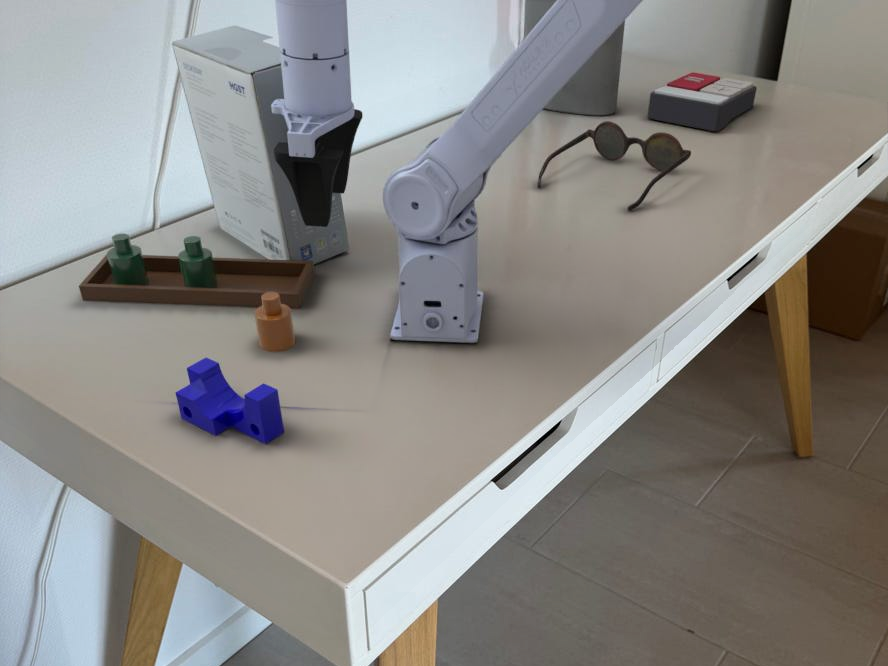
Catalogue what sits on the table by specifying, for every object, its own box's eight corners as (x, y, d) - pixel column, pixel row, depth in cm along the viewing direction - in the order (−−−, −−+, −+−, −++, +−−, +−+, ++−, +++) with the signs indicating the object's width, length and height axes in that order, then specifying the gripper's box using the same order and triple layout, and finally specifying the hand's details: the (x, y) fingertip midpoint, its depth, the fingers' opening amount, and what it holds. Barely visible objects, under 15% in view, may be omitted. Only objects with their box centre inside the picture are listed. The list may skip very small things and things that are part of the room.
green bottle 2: (212, 295, 89) (203, 247, 86) (180, 293, 89) (170, 245, 86) (222, 280, 91) (213, 232, 88) (190, 279, 91) (180, 231, 88)
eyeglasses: (687, 175, 116) (693, 135, 113) (636, 213, 106) (641, 171, 103) (586, 153, 122) (589, 114, 119) (529, 187, 112) (531, 146, 109)
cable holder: (181, 418, 73) (171, 376, 71) (214, 398, 75) (206, 357, 73) (251, 453, 70) (243, 410, 67) (284, 432, 72) (277, 389, 69)
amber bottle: (291, 355, 81) (284, 305, 78) (255, 354, 81) (247, 303, 78) (299, 337, 83) (292, 288, 80) (264, 336, 83) (256, 286, 80)
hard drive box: (353, 251, 96) (321, 52, 83) (292, 277, 93) (249, 73, 79) (274, 207, 105) (235, 21, 92) (216, 230, 102) (166, 39, 88)
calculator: (759, 81, 136) (722, 100, 126) (752, 111, 139) (716, 132, 128) (690, 69, 141) (650, 87, 131) (685, 98, 143) (645, 118, 133)
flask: (514, 105, 138) (518, -45, 125) (528, 95, 142) (534, -52, 129) (608, 119, 133) (622, -36, 120) (620, 108, 137) (635, -43, 125)
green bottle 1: (142, 292, 89) (130, 244, 86) (110, 291, 89) (97, 243, 86) (153, 277, 91) (142, 230, 88) (122, 276, 92) (110, 229, 88)
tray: (299, 312, 87) (297, 294, 86) (83, 303, 88) (78, 285, 87) (315, 278, 93) (313, 260, 91) (111, 270, 94) (107, 253, 92)
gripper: (288, 26, 81) (300, 175, 90) (243, 72, 70) (262, 237, 79) (366, 31, 81) (371, 180, 90) (333, 78, 70) (343, 243, 79)
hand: (325, 207), depth 84 cm, fingers open, 7 cm apart
